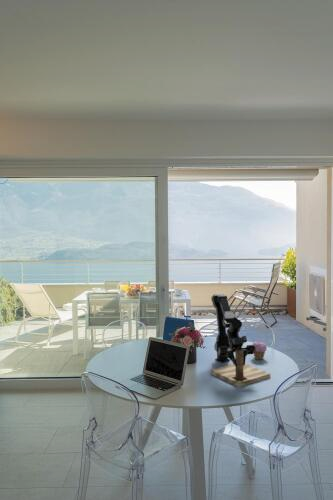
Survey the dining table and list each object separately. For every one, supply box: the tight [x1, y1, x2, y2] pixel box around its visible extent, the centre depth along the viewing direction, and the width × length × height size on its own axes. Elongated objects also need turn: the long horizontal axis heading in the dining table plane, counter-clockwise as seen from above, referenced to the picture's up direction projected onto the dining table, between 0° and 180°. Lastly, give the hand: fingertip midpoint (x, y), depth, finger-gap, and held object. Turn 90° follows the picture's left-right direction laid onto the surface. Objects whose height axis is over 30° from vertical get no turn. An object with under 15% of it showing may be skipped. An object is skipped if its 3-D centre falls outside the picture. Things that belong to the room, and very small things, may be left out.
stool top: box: [210, 363, 271, 388], centre depth 216 cm, size 22×22×2 cm
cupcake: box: [252, 341, 267, 360], centre depth 242 cm, size 9×9×10 cm
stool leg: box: [234, 349, 244, 382], centre depth 206 cm, size 4×4×15 cm
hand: (240, 365), depth 205 cm, fingers closed on stool leg, 4 cm apart
